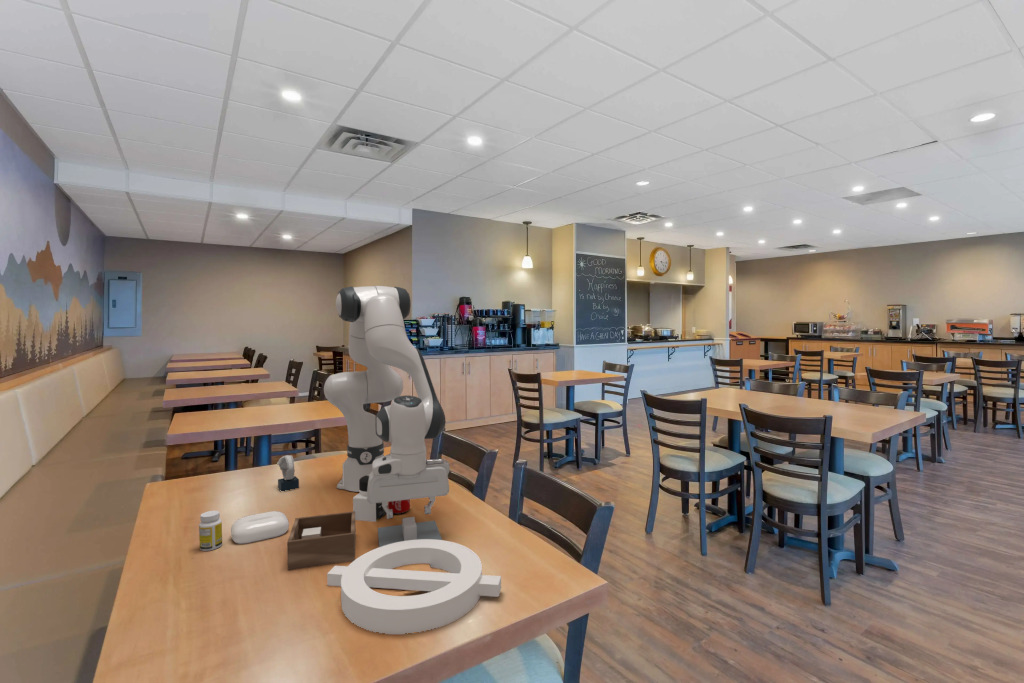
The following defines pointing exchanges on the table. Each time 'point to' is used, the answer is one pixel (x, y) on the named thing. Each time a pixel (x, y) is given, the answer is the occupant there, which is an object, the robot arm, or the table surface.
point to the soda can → (399, 506)
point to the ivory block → (311, 533)
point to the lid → (408, 532)
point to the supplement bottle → (210, 531)
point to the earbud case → (259, 527)
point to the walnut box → (322, 541)
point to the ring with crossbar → (412, 586)
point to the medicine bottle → (366, 504)
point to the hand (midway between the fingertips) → (408, 515)
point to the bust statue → (287, 474)
